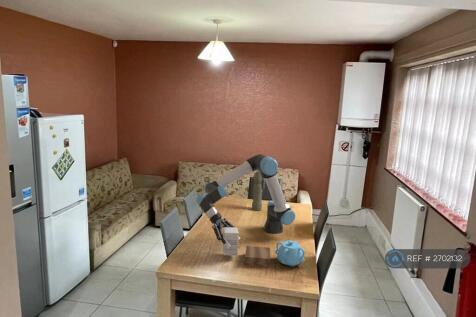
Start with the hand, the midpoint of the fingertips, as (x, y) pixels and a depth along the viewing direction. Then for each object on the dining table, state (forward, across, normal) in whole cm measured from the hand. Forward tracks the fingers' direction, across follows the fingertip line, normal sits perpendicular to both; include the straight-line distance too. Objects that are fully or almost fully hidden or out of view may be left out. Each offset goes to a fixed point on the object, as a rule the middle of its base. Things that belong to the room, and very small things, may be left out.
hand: (234, 243), depth 201 cm
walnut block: (+17, -4, +3) cm, 18 cm away
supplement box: (+3, 0, -6) cm, 7 cm away
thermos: (-10, -91, -25) cm, 95 cm away
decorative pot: (+30, -14, +16) cm, 36 cm away
